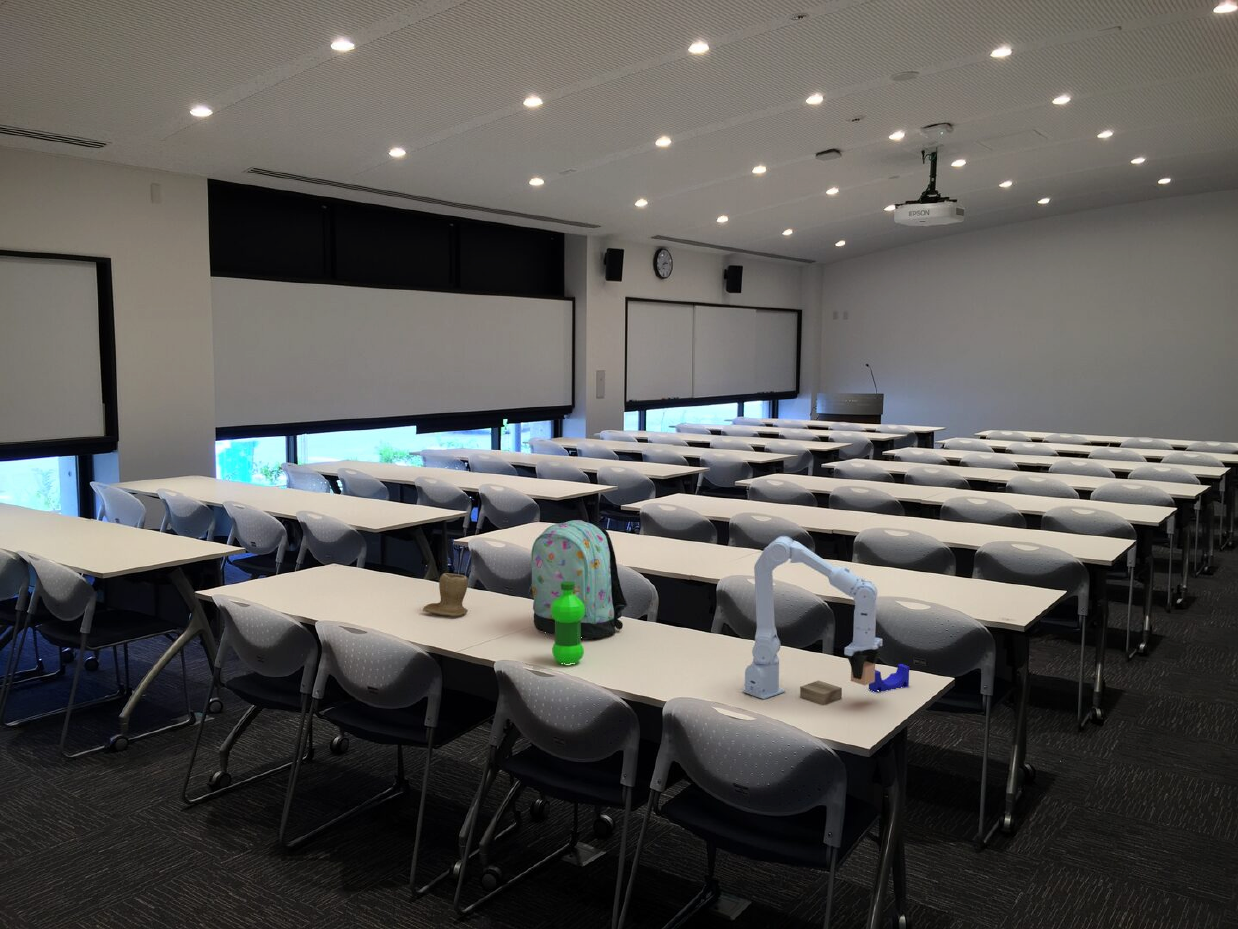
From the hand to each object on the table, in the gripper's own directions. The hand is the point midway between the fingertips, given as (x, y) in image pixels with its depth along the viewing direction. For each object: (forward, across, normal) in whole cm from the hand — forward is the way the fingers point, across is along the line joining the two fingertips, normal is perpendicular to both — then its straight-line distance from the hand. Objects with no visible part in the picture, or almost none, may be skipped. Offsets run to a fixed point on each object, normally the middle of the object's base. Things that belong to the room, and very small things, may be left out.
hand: (862, 676), depth 257 cm
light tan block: (+2, 0, 0) cm, 2 cm away
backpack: (+8, -19, +103) cm, 105 cm away
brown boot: (+8, -39, +152) cm, 157 cm away
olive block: (+8, -5, +10) cm, 14 cm away
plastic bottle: (+8, -40, +79) cm, 89 cm away
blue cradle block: (+8, +16, +3) cm, 19 cm away
